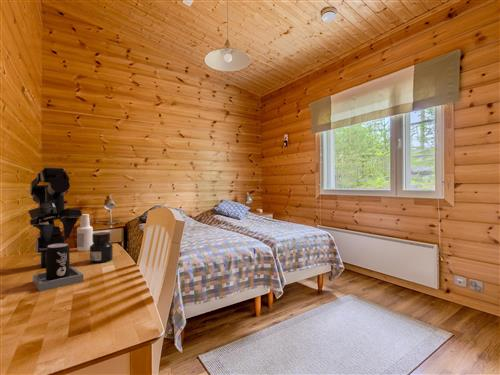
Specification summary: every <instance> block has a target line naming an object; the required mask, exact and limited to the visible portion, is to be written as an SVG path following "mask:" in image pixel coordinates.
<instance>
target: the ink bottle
mask: <svg viewBox="0 0 500 375" xmlns="http://www.w3.org/2000/svg"><path fill="white" fill-rule="evenodd" d="M110 241H111V232H110V231H109V232H108V231H100V232H93V234H92V242H93V244H92V245H91V246H90V250H89V262H90V263H91V264H92V263H94V264H102V263H106V262H110V261H112V260H113V258H114V257H113V256H114V255H113V254H114V253H113V252H114V250H113V248H114V245H113V244H112V243H111V242H110Z"/></svg>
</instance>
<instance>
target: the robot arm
mask: <svg viewBox="0 0 500 375" xmlns="http://www.w3.org/2000/svg"><path fill="white" fill-rule="evenodd" d="M40 183H48V184H40ZM70 186H71V184H70V177H69V175H68V173H67V171H66V170H65V168H63V167H48V166H47V167H46V166H45V167H43V168H42V169H41V170H40V172H37V174H36V177H35V178H34V179H33V180H32V181H31V182H30V187H29V188H30V189H29V193H30V194H29V195H30V196H31V197H32V201H34V203H36V204H37V205H38V207H36V208H32V209H29V210H28V211H27V212H28V214H29V217H30V220H29V226H32V227H33V228H36V229H38V230H39V233H38V237H37V238H36V241H35V245H34V246H35V251H36V253H37V254H39V253H40V263H38V264H37V265H38V267H39V268H40V269H46V250H47V248H48V247H47V246H48V245H52V244H58V243H65V240H66V239H68V238H70V235H71V234H72V231H73V229H74V227H75V225H76V223H77V221H78V220H80V218H81V216H82V210H81V209H80V208H69V207H68V208H65V205H66V204H68V201H67V200H65V194H66V193H67V191H69V189H70ZM57 220H59V221H60V223H62V226H63V227H62V228H63V234H64V235H63V234H62V232H61V227H60V226H59V225H58V226H56V225H55V221H57Z"/></svg>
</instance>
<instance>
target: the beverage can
mask: <svg viewBox="0 0 500 375" xmlns="http://www.w3.org/2000/svg"><path fill="white" fill-rule="evenodd" d="M47 247H48V248H47V250H46V267H45V272H46V280H47V281H51V280H55V279H60V278H65V277H69V275H70V266H71V265H70V247H69V244H68V243H66V242H64V243H58V244H52V245H48V246H47Z"/></svg>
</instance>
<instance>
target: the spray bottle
mask: <svg viewBox="0 0 500 375" xmlns="http://www.w3.org/2000/svg"><path fill="white" fill-rule="evenodd" d="M90 223H91V222H90V214H89V213H84V214H82V216H80V226H78V227H77V229H76V230H77V231H76V235H77V237H76V245H77V246H76V250H77V251H78V252H87V251H90V246H91V245H92V244H93V242H92V234H93V233H94V229H93V228H94V227H93V226H91V225H90Z"/></svg>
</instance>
